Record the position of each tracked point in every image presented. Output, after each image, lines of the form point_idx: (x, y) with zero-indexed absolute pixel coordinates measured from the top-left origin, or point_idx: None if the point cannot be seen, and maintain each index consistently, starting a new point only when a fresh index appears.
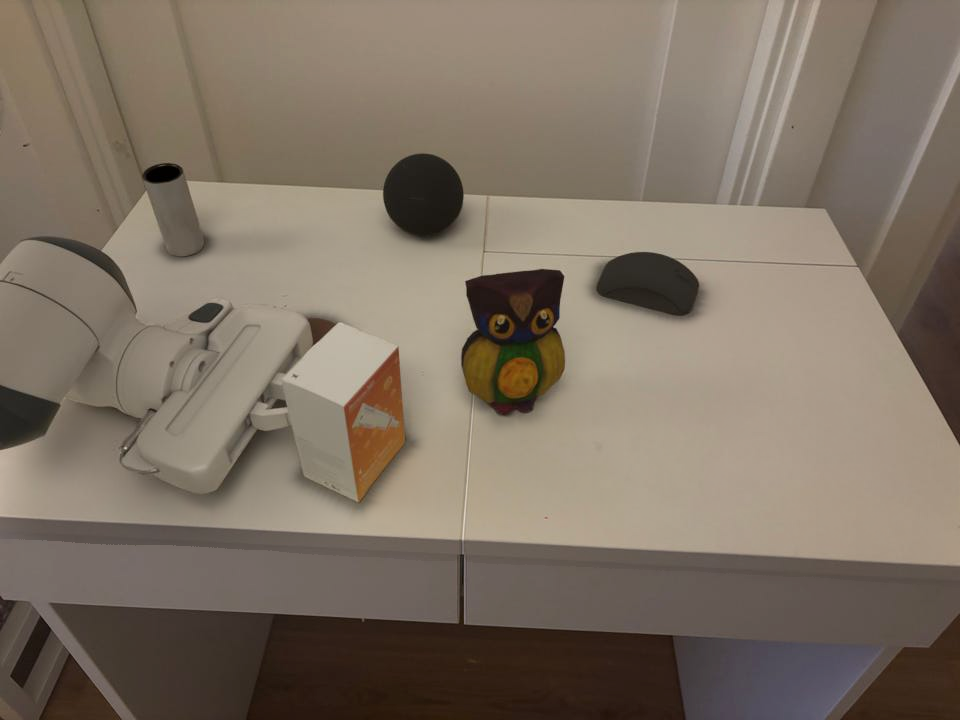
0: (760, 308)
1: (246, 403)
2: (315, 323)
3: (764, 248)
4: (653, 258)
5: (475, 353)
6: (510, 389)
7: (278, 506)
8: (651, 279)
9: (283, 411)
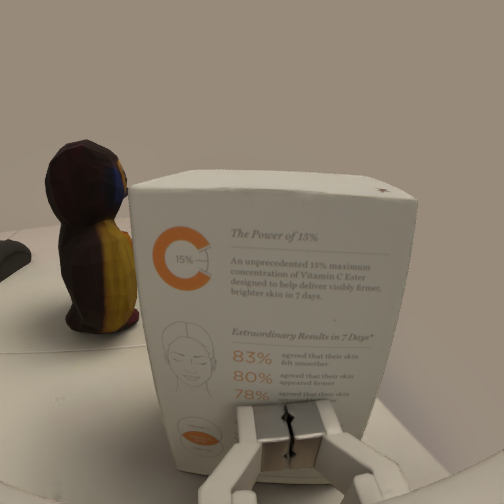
0: (37, 243)
1: (417, 496)
2: None
3: None
4: None
5: (117, 238)
6: None
7: (410, 478)
8: (7, 244)
9: (344, 438)
